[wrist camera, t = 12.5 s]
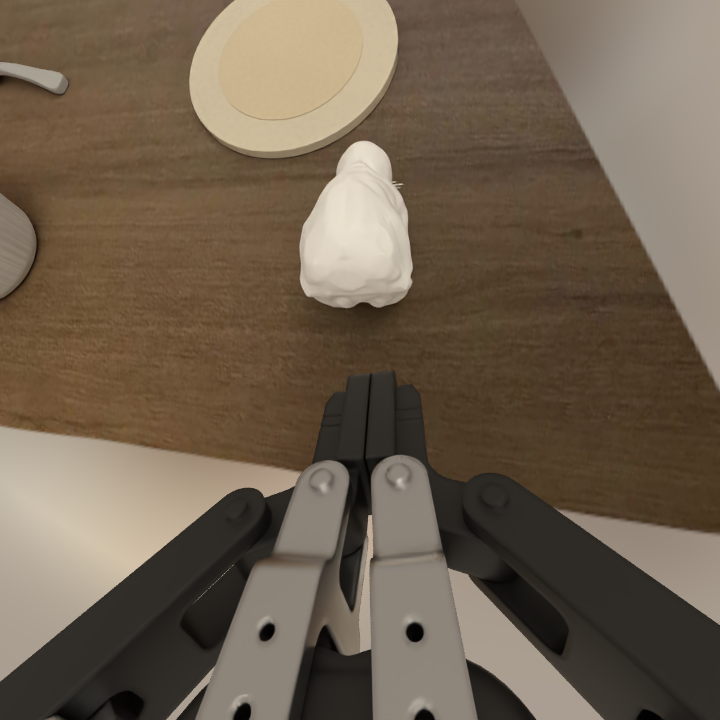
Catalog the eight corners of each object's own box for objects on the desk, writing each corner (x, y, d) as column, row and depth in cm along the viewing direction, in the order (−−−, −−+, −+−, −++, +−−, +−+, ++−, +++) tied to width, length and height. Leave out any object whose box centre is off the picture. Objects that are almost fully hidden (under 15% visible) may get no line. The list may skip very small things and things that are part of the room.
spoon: (-17, 62, 38) (-39, 42, 36) (79, 82, 36) (61, 62, 34) (-30, 86, 38) (-53, 68, 36) (66, 108, 36) (47, 89, 34)
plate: (387, -44, 32) (386, -57, 31) (410, 133, 28) (409, 123, 27) (196, 10, 34) (190, -1, 34) (192, 177, 31) (185, 170, 30)
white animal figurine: (275, 270, 17) (294, 82, 21) (323, 334, 25) (331, 191, 29) (410, 261, 16) (407, 64, 20) (415, 331, 24) (412, 183, 28)
